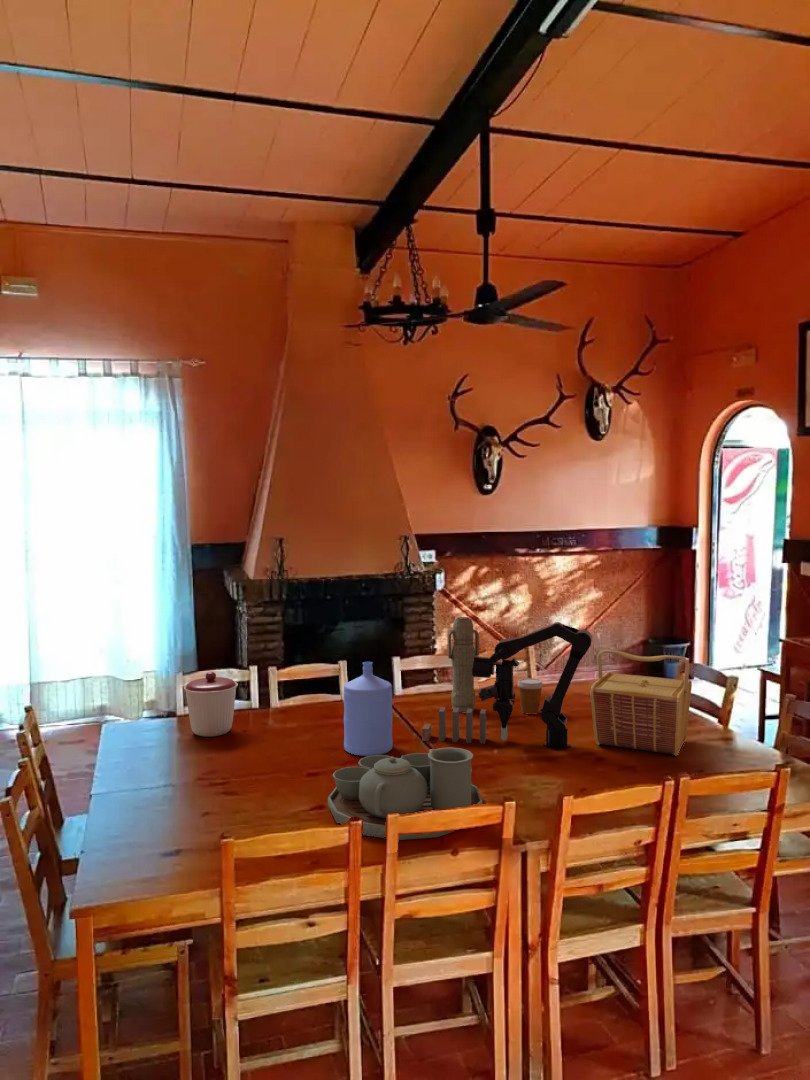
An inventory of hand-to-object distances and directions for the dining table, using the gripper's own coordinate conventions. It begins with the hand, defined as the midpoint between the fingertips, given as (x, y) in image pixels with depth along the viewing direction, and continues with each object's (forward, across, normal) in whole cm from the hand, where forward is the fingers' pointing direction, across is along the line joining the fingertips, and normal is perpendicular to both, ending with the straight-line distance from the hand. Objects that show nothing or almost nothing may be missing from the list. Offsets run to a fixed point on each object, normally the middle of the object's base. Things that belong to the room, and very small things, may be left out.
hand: (504, 725), depth 259 cm
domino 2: (+6, 0, -16) cm, 17 cm away
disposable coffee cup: (+6, -37, +7) cm, 38 cm away
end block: (+6, 0, -26) cm, 26 cm away
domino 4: (+6, 0, -7) cm, 9 cm away
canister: (+6, +6, -100) cm, 100 cm away
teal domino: (+4, 0, 0) cm, 4 cm away
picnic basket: (+6, -6, +44) cm, 45 cm away
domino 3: (+6, 0, -12) cm, 13 cm away
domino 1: (+6, 0, -21) cm, 21 cm away
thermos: (+6, -36, -18) cm, 41 cm away
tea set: (+6, +59, -22) cm, 63 cm away
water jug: (+6, +14, -42) cm, 45 cm away
